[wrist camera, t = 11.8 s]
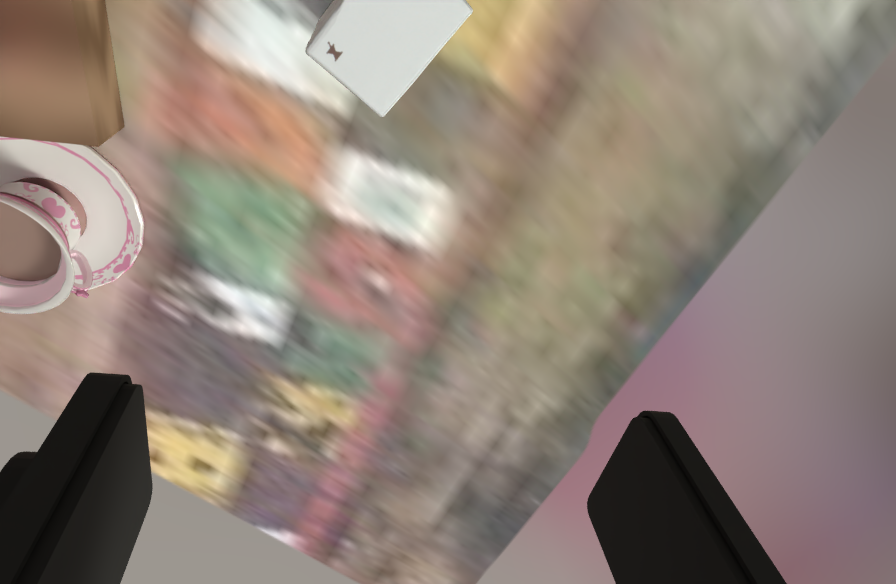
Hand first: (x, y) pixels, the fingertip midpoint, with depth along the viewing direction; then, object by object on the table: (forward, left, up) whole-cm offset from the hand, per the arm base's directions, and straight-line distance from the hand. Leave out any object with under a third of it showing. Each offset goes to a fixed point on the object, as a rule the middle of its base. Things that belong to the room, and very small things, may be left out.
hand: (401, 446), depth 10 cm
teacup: (+10, -21, -29) cm, 37 cm away
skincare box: (-5, 0, -29) cm, 30 cm away
